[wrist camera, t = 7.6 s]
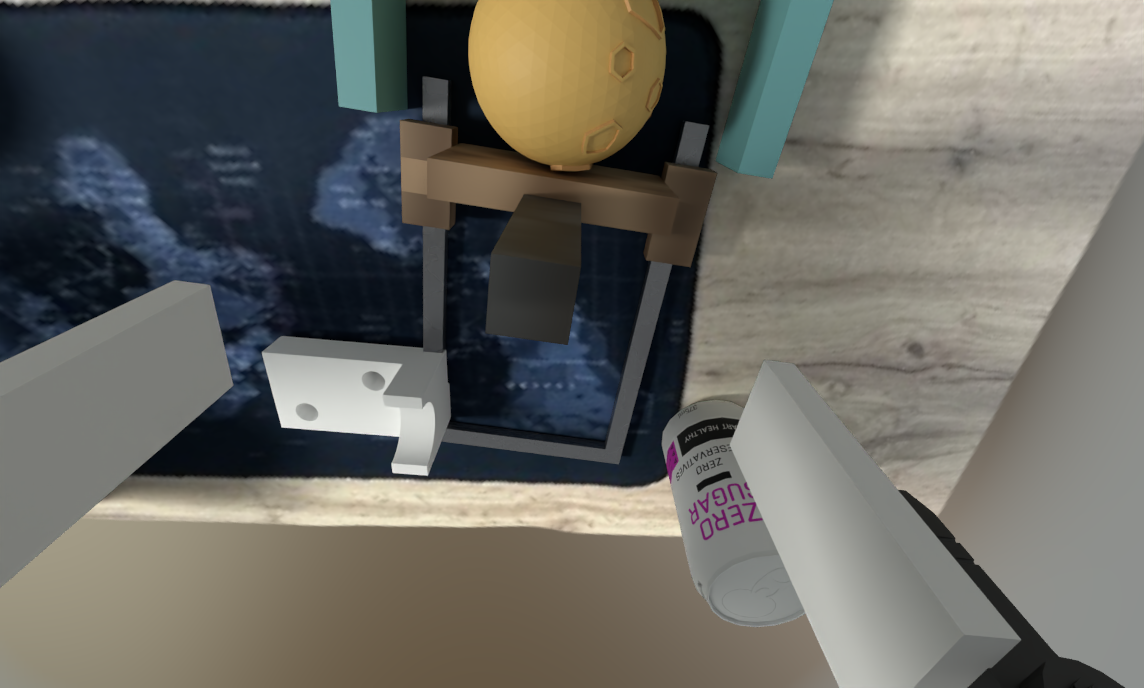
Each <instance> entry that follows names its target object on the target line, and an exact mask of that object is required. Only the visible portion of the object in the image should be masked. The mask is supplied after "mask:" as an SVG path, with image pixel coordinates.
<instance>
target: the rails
mask: <svg viewBox="0 0 1144 688" xmlns="http://www.w3.org/2000/svg"><path fill="white" fill-rule="evenodd" d="M451 106H452V81H450V80H445V79H439V78H433V77H427V76H423V121H425V122H431V123H437V124H443V125H449V126H451ZM708 129H709V125H705V124H700V123H694V122H688V121H682V125H681V129H680V133H679V137H678V141H677V145H676V149H675V154H674V158H673V162H672V163H676V164H682V165H688V166H694V167H698V166H699V162H700V159H701V155H702V151H703V148H704V144H705V140H706V136H707V133H708ZM671 267H672V264H667V263H660V262H654V261H648V266H647V270H646V274H645V278H644V282H643V286H642V290H641V295H640V299H639V303H638V307H637V311H636V315H635V319H634V324H633V328H632V332H631V336H630V340H629V344H628V348H627V353H626V357H625V361H624V365H623V369H622V373H621V377H620V382H619V386H618V390H617V394H616V398H615V402H614V406H613V411H612V415H611V419H610V423H609V427H608V431H607V435H606V440H605V442H602V441H595V440H587V439H579V438H572V437H564V436H557V435H549V434H541V433H534V432H526V431H518V430H511V429H503V428H496V427H488V426H480V425H473V424H465V423H457V422H450V421H449V423H448V425H447V428H446V431H445V433H444V436H443V438H442V441H443V442H451V443H459V444H466V445H474V446H482V447H490V448H497V449H505V450H513V451H521V452H529V453H536V454H544V455H552V456H560V457H567V458H575V459H583V460H591V461H598V462H606V463H614V464H619V461H620V458H621V454H622V450H623V446H624V443H625V439H626V435H627V431H628V428H629V424H630V420H631V416H632V413H633V409H634V405H635V402H636V398H637V394H638V390H639V387H640V383H641V379H642V375H643V372H644V368H645V364H646V360H647V357H648V353H649V349H650V346H651V342H652V338H653V334H654V331H655V327H656V323H657V319H658V316H659V312H660V308H661V304H662V301H663V297H664V293H665V289H666V286H667V282H668V278H669V275H670V271H671ZM447 271H448V230H447V229H440V228H434V227H427V226H423V352H435V353H443V351H444V350H446V312H447Z"/></svg>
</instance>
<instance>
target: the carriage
mask: <svg viewBox="0 0 1144 688" xmlns="http://www.w3.org/2000/svg"><path fill="white" fill-rule="evenodd" d="M400 146H401V188H402V223H408V224H414V225H421V226H427V227H434V228H440V229H447V230H450V229H451V227H452V226H453V225H454V224H455V211H456V203H461V204H467V205H473V206H480V207H486V208H492V209H499V210H505V211H511V212H514V213H513V215H512V217H511V218H510V220H509V222H508V224H507V226H506V227H505V229H504V231H503V233H502V235H501V236H500V238H499V240H498V242H497V244H496V245H495V247H494V249H493V251H492V253H491V261H490V275H489V289H488V304H487V318H486V332H485V333H487V334H494V335H501V336H508V337H515V338H522V339H529V340H536V341H543V342H550V343H557V344H564V345H568V341H569V335H570V329H571V323H572V317H573V311H574V305H575V299H576V293H577V288H578V282H579V276H580V270H581V223H587V224H594V225H600V226H606V227H613V228H619V229H625V230H632V231H638V232H644V233H648V235H647V240H646V244H645V248H644V252H643V253H644V256H645V258H646V260H647V261H654V262H660V263H667V264H673V265H680V266H686V267H691V263H692V260H693V256H694V253H695V249H696V246H697V242H698V239H699V235H700V232H701V228H702V225H703V221H704V218H705V215H706V211H707V208H708V204H709V201H710V197H711V194H712V190H713V187H714V183H715V180H716V176H717V173H716V172H715V171H713V170H711V169H706V168H700V167H694V166H688V165H682V164H676V163H670V162H664V167H663V171H662V175H661V178H660V177H659V176H658V175H652V174H646V173H640V172H634V171H628V170H622V169H616V168H610V167H604V166H598V165H592V168H591V169H589V170H583V171H552V170H551V166H550V165H546V164H542V163H539V162H537V161H534V160H532V159H530V158H528V157H526V156H524V155H522V154H521V153H519V152H513V151H507V150H501V149H495V148H489V147H483V146H477V145H471V144H465V143H460V144H458V127H455V126H449V125H443V124H437V123H431V122H425V121H419V120H413V119H405V120H400Z"/></svg>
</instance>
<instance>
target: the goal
mask: <svg viewBox="0 0 1144 688" xmlns="http://www.w3.org/2000/svg"><path fill="white" fill-rule="evenodd" d="M330 1H331V14H332V26H333V39H334V51H335V64H336V76H337V89H338V101H339V106H340V107H346V108H352V109H358V110H364V111H370V112H376V113H378V112H387V111H396V110H406V109H408V108H407V47H406V0H330ZM833 1H834V0H761V1H760V5H759V8H758V12H757V15H756V19H755V22H754V26H753V30H752V33H751V37H750V40H749V44H748V47H747V51H746V54H745V58H744V61H743V65H742V68H741V72H740V76H739V79H738V83H737V86H736V90H735V93H734V97H733V100H732V104H731V107H730V111H729V114H728V118H727V122H726V125H725V129H724V132H723V136H722V139H721V143H720V146H719V150H718V153H717V157H716V160H715V161H716V162H718V163H720V164H722V165H724V166H726V167H728V168H729V169H731V170H733V171H735V172H737V173H741V174H747V175H753V176H759V177H765V178H771V179H772V178H773V175H774V172H775V169H776V166H777V163H778V161H779V158H780V155H781V152H782V149H783V146H784V143H785V140H786V137H787V134H788V131H789V129H790V126H791V123H792V120H793V117H794V114H795V111H796V108H797V105H798V102H799V100H800V97H801V94H802V91H803V88H804V85H805V82H806V79H807V76H808V73H809V70H810V68H811V65H812V62H813V59H814V56H815V53H816V50H817V47H818V44H819V41H820V39H821V36H822V33H823V30H824V27H825V24H826V21H827V18H828V15H829V12H830V9H831V7H832V4H833Z"/></svg>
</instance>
